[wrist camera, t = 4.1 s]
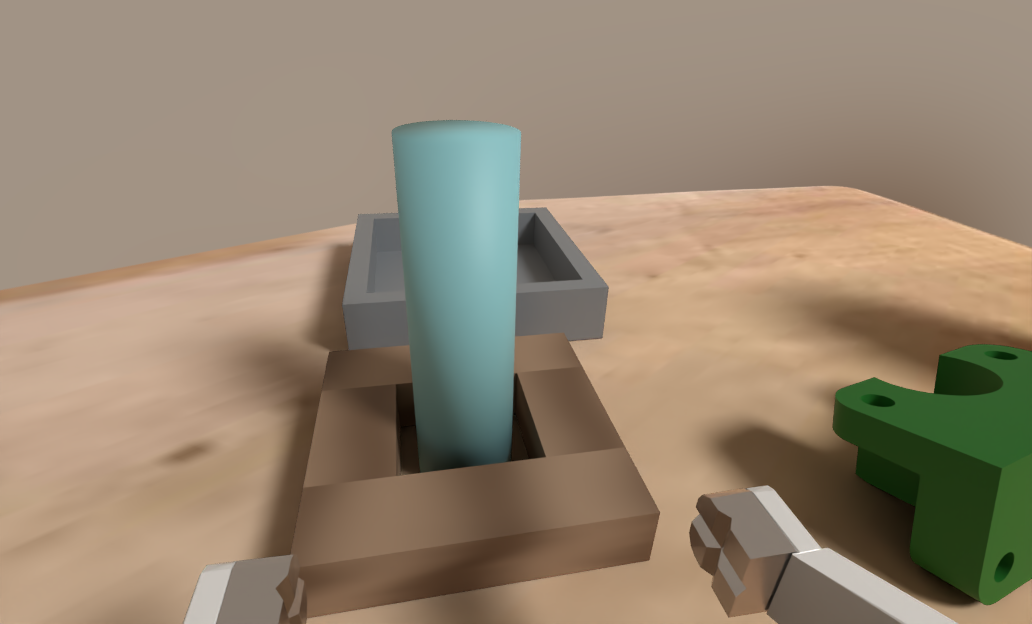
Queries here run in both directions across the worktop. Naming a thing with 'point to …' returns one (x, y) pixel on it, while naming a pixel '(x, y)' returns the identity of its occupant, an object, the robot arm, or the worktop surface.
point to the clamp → (955, 463)
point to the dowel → (460, 285)
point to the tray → (539, 288)
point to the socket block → (462, 488)
